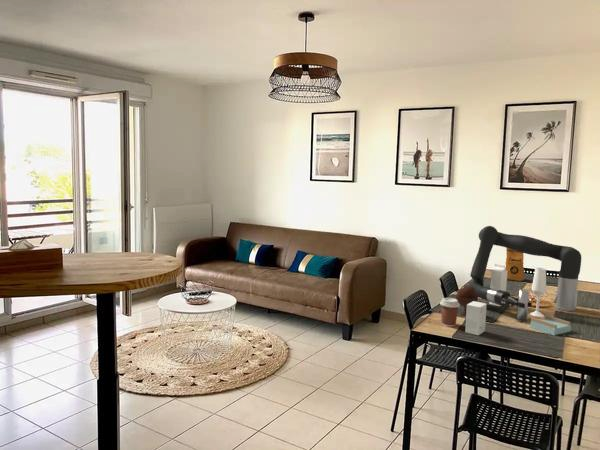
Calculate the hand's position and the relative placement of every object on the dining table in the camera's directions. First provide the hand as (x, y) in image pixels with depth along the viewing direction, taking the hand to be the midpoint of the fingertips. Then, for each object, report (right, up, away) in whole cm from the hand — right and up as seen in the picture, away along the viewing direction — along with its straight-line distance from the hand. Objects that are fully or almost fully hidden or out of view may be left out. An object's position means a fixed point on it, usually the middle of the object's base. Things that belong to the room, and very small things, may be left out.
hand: (527, 305), depth 235 cm
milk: (-2, -5, +31) cm, 32 cm away
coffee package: (+34, +2, +93) cm, 99 cm away
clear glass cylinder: (-1, -8, +3) cm, 9 cm away
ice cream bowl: (-26, -7, +11) cm, 29 cm away
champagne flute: (+11, -7, +14) cm, 19 cm away
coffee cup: (-40, -8, -5) cm, 41 cm away
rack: (+6, -9, -10) cm, 15 cm away
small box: (-31, -10, -15) cm, 36 cm away
